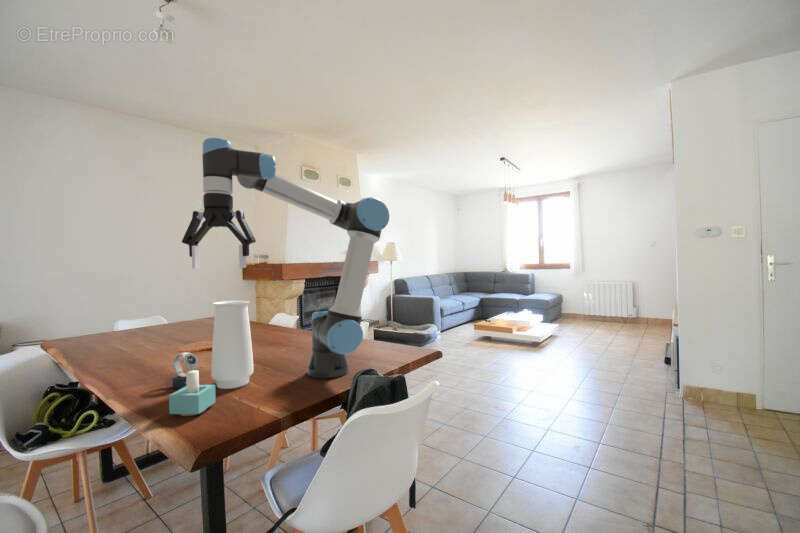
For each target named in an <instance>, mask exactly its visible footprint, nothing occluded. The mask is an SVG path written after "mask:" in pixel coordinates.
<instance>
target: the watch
mask: <svg viewBox="0 0 800 533" xmlns="http://www.w3.org/2000/svg"><path fill="white" fill-rule="evenodd" d="M180 357H181V358H182V364H183V366H184V367H186V368H187V371H193V370H197V368H198V364H199V360H198V359H199V358H198V357H197V355H195V354H194V353H191V352H188V351H185V352H181V353H177V354H175V356H174V357H173V360H172V368H173V370H174V372H175V374H176V375H178V376H175V377H172V389H174V388H175V389H182V388H183V387H185V386H187V384H186V373H185V372H184V370H183V367H182V366H181V365H182V364H181V363H180Z"/></svg>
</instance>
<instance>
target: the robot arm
mask: <svg viewBox="0 0 800 533" xmlns="http://www.w3.org/2000/svg"><path fill="white" fill-rule="evenodd" d="M276 162H277V161H276V158H275V156H274V155H273V154H270V153H269V154H268V153H264V152H255V151H247V150H239V149H235V148H233V145H232V143H231V141H229V140H227V139H224V138H220V137H208V138H205V139H204V141H203V142H202V186H203V187H202V189H203V190H202V192H203V193H204V194H203V196H202V197H203V208H204V209H203V210H204V211H203V212H201V211H196V210H194V211H193V212H192V217H191V221H190V222H189V225H188V227H187V229H186V231H185V233H184V235H183V238H182V240H181V243H182V244H184V245H185V244H186V245H187V246H188V248H189V252H188V253H189V257H190V258H191V264H192V265H191V267H192V270H194V269H201V245H199V243H200V242H201V241H202V239H203V238H204V237H205V236H206V235H207V234H208V232H209V231H210V230H211V229H212V228H219V227H222V228H228V230H229V231H231V233H232V234H233V235H234V236H235V238H236V239H237V240H238V241H239V242H240V243H241V244H239V245H238V260H239V264H238V266H239V269H242V268H243V269H245V268H247V257H249V256H250V245H251V244H255V243H256V241H257V240H256V238H255V237H254V235H253V231H252V230H251V229H250V227H249V225H248V223H247V220H246V219H245V218H246V217H245V212H244V211H242V210H238V209H237V210H236V211H234V210H233V208H234V200H233V198H234V197H233V195H232V194H233V176H235V177H236V179H237V181H238V184H240V186H241V187H242V188H245V189H248V190H249V189H252V190H256V191H260V192H261V193H264V194H267V195H269V196H271V197H274V198H276V199H278V200H281V201H283V202H285V203H287V204H290V205H292V206H295V207H297V208H300V209H302V210H304V211H306V212H307V211H308V212H310V213H311V214H314V215H317V216H318V217H321V218H323V219H326V220H328V222H329V223H330V224H331V225H334V226H336V227H338V228H340V229H342V230H345V231H346V234H347V235H348V237H349V242H348V245H347V250H346V254H345V259H344V263H343V266H342V272H341V275H340V280H339V283H338V288H337V293H336V297H335V302H334V305H333V306H332V307H330V308H328V310H325V311H324V310H323V311H314V312H312V314H311V320H310V322H311V349H312V351H311V356H310V359H309V362H308V365H307V375H308V376H309V377H310V378H315V379H332V378H333V379H335V378H338V377H342V376H344V375H347V374H348V373H349V372H350V365H349V361H348V358H347V356H346V355H348V354H351V353H353V352H355V351H356V350H357V349H358V348H359V347H360V345H361V344H362V341H363V338H364V331H363V328H362V326H361V322H362V319H363V315H362V313H361V312H360V309H361V308H360V307H361V303H362V298H363V295H364V290H365V286H366V285H365V284H366V281H367V276H368V272H369V268H370V262H371V260H372V255H373V251H374V247H375V246H374V245H375V244H376V243H377V242H379V241H380V238H381V234H382V230H384V229H385V228H386V227H387V226H388V224H389V221H390V210H389V209H388V207H387V205H386V204H385V202H384V201H382V200H381V199H379V198H377V197H374V196H372V197H364V198H361V199H360V200H359V201H355V202H354V203H351V202H346V201H344V200H341V199H339V200H335V199H333V198H330V197H328V196H326V195H323V194H322V193H319V192H317V191H315V190H313V189H310V188H308V187H306V186H303V185H302V184H299V183H297V182H295V181H292V180H290V179H288V178H285V177H284V176H281V175H279V174H277V173H276V172H277V171H276V170H277V164H276ZM234 218H235V219H236V220H237V222H238V224H239V226H240V228H241V230H240V229H239V228H238V227H237V226H236V224H235V223H234V221H232V220H233V219H234ZM203 219H205V220H204V221H203V222H202V220H203ZM201 222H202V223H201ZM200 224H201V226H200ZM199 227H200V228H199ZM242 232H243V233H242Z"/></svg>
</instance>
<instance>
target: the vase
mask: <svg viewBox="0 0 800 533" xmlns="http://www.w3.org/2000/svg"><path fill="white" fill-rule="evenodd" d="M250 302H251V301H250V300H248V299H247V300H246V299H244V300H239V299H238V300H237V299H236V300H223V301H222V300H221V301H215V302H213V303H212V305H213V306H214V320H213V331H212V333H213V334H212V347H211V348H212V350H211V351H212V353H211V369H210V370H211V371H210V372H211V379H212V380H214V382H215V385H216V388H219V389H221V390H228V389H229V390H230V389H237V388H241V387H244V386H245V385H248V383H249V381H250V377H251V375H252V374H254V367H255V366H254V355H253V343H252V336H251V335H252V333H251V324H250V317H249V316H250V315H249V308H248V304H249V303H250Z"/></svg>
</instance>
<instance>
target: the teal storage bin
mask: <svg viewBox="0 0 800 533" xmlns="http://www.w3.org/2000/svg"><path fill="white" fill-rule="evenodd" d="M216 399H217V398H216V384H199V392H197V393H187V386H185V387H183V388H179V389H178V390H176V391H174V392H173V393H171V394H169V395H168V406H169V407H168V410H169V411H168V412H169V413H168V414H169V415H180V414H197V415H199V413H200V414H202V413H201V412H202V411H204V410H205V409H206V408H207V409H208V408H209V407H211V406H212V405H214V404H215V403H216V402H217V400H216ZM207 409H206V410H207ZM204 412H205V411H204Z"/></svg>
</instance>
